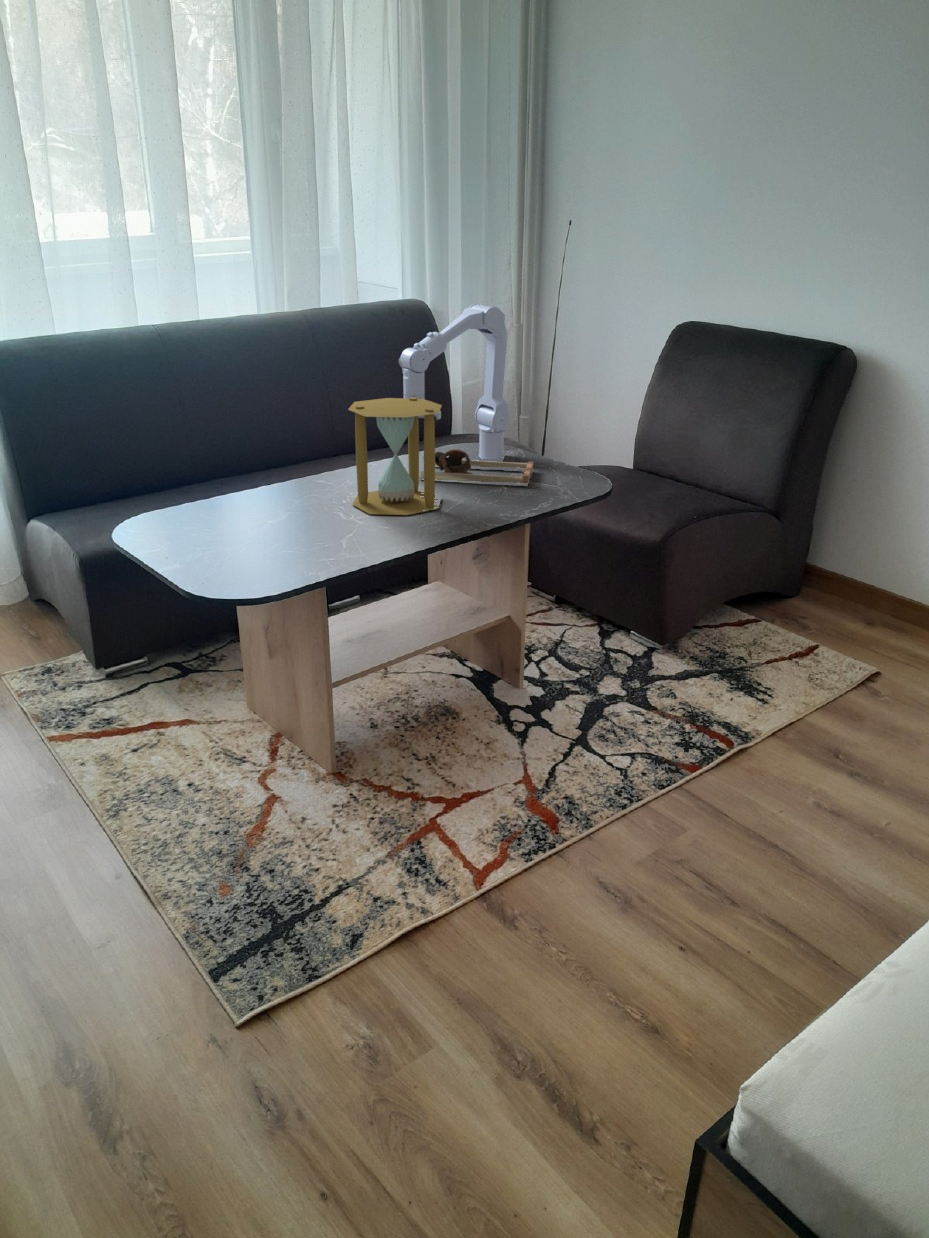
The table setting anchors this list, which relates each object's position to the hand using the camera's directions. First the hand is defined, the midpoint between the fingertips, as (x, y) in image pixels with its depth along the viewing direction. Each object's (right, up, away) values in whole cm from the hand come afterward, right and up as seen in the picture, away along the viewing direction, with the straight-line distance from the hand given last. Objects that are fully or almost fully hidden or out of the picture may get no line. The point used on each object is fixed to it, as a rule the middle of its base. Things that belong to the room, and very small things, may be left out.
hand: (414, 443), depth 261 cm
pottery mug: (+10, -8, +3) cm, 14 cm away
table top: (+17, -9, +2) cm, 19 cm away
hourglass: (-3, -19, -21) cm, 28 cm away
